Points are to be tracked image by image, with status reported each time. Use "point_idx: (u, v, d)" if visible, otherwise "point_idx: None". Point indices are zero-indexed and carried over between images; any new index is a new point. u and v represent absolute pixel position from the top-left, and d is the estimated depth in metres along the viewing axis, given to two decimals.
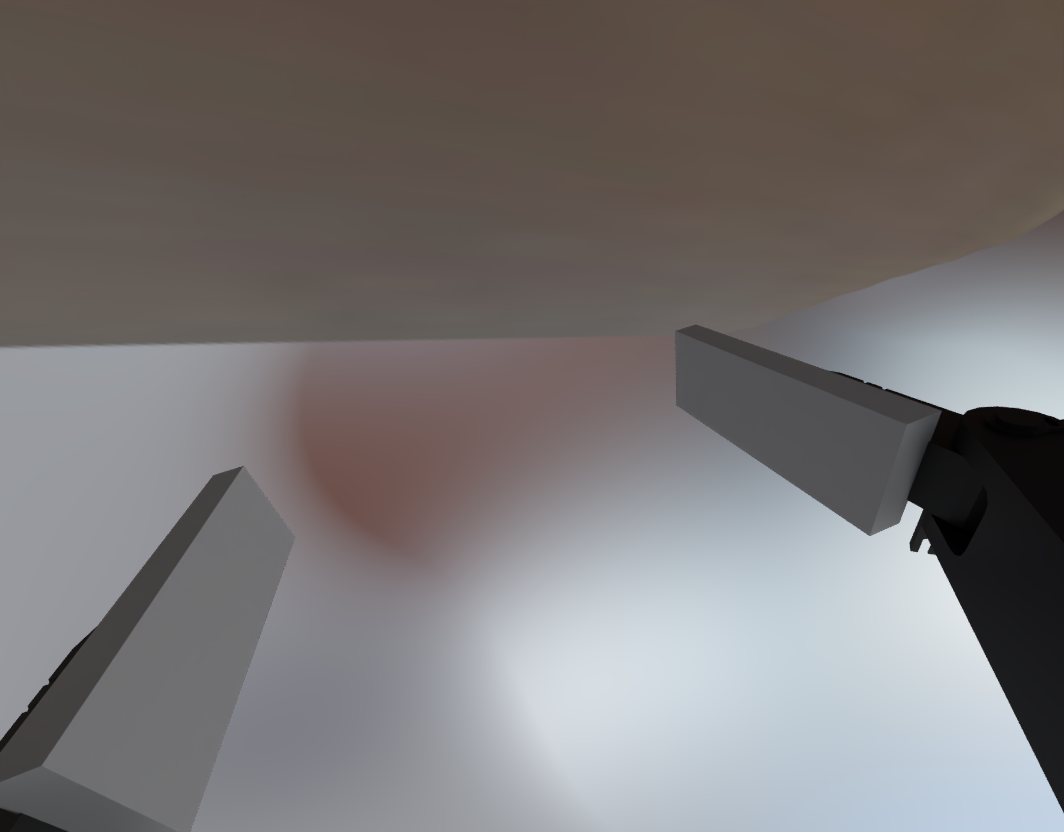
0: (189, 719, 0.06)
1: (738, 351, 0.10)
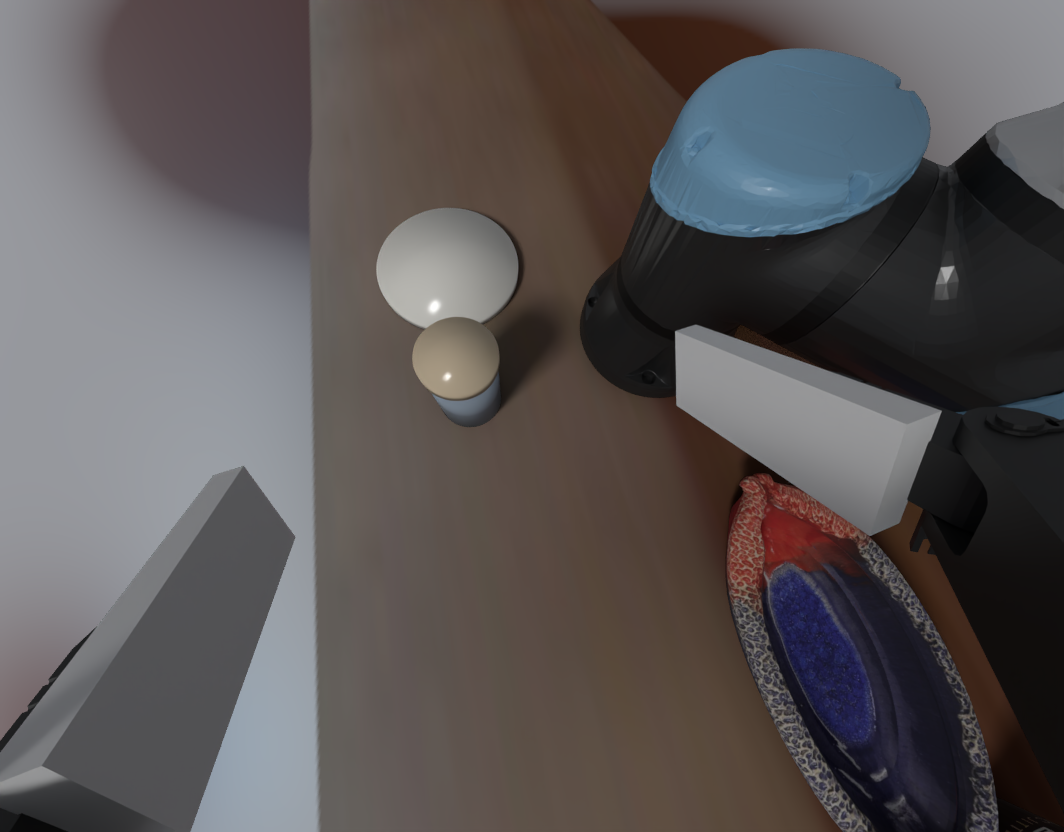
0: (189, 719, 0.06)
1: (738, 351, 0.10)
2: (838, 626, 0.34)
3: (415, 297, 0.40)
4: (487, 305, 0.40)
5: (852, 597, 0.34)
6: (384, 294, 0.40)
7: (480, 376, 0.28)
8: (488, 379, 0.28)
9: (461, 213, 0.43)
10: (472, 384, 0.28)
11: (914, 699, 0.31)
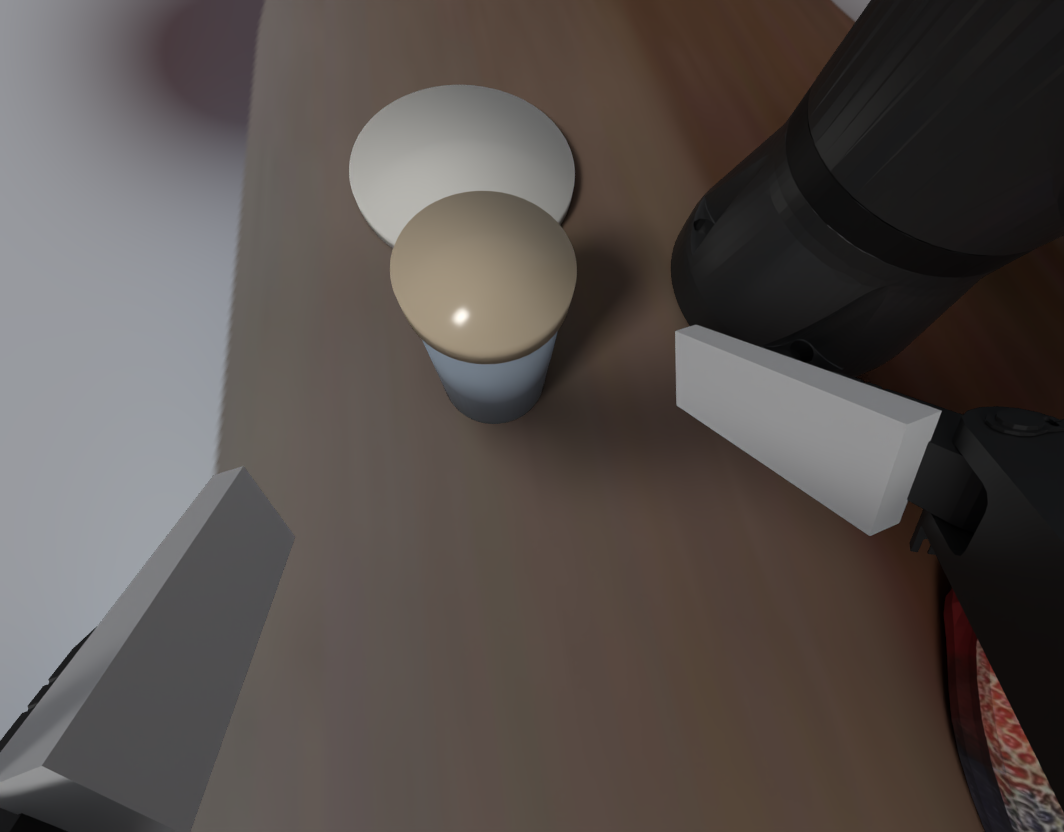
0: (189, 719, 0.06)
1: (738, 351, 0.10)
2: None
3: (410, 209, 0.25)
4: None
5: None
6: (359, 202, 0.24)
7: (537, 310, 0.13)
8: (554, 318, 0.13)
9: (487, 93, 0.28)
10: (519, 326, 0.13)
11: None
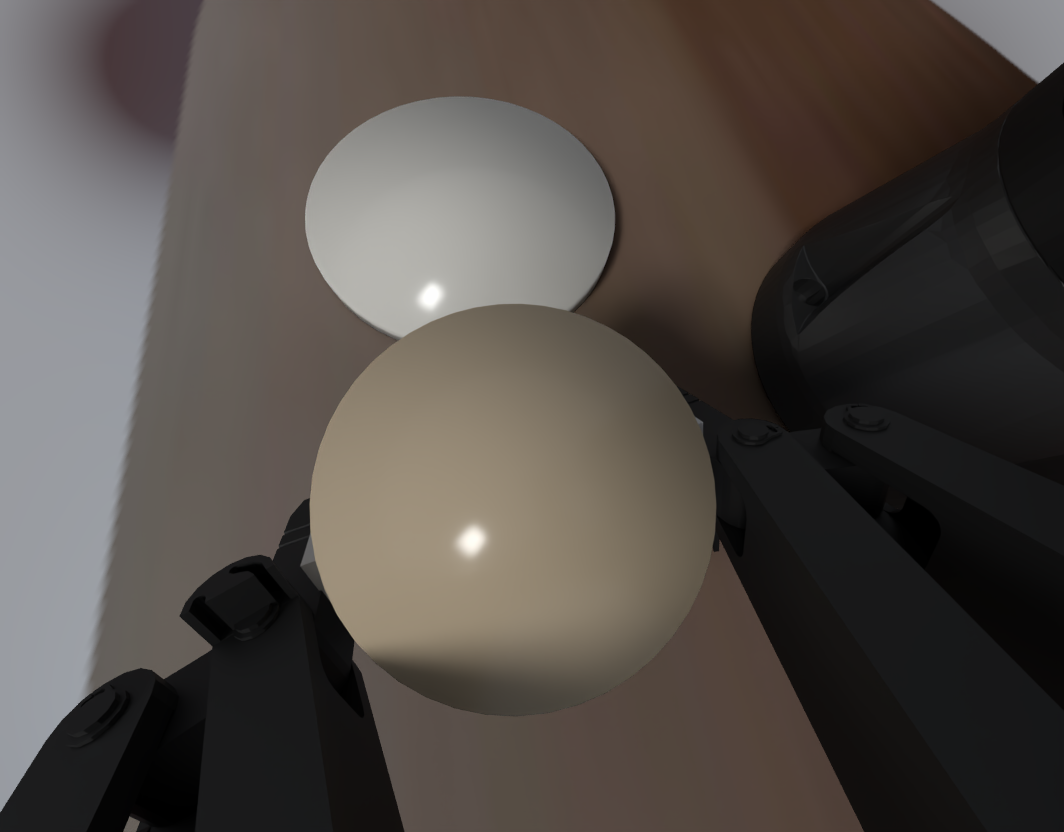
0: None
1: None
2: None
3: (390, 270, 0.18)
4: (551, 293, 0.18)
5: None
6: (318, 262, 0.17)
7: (641, 594, 0.06)
8: (681, 611, 0.06)
9: (493, 107, 0.21)
10: (605, 641, 0.05)
11: None
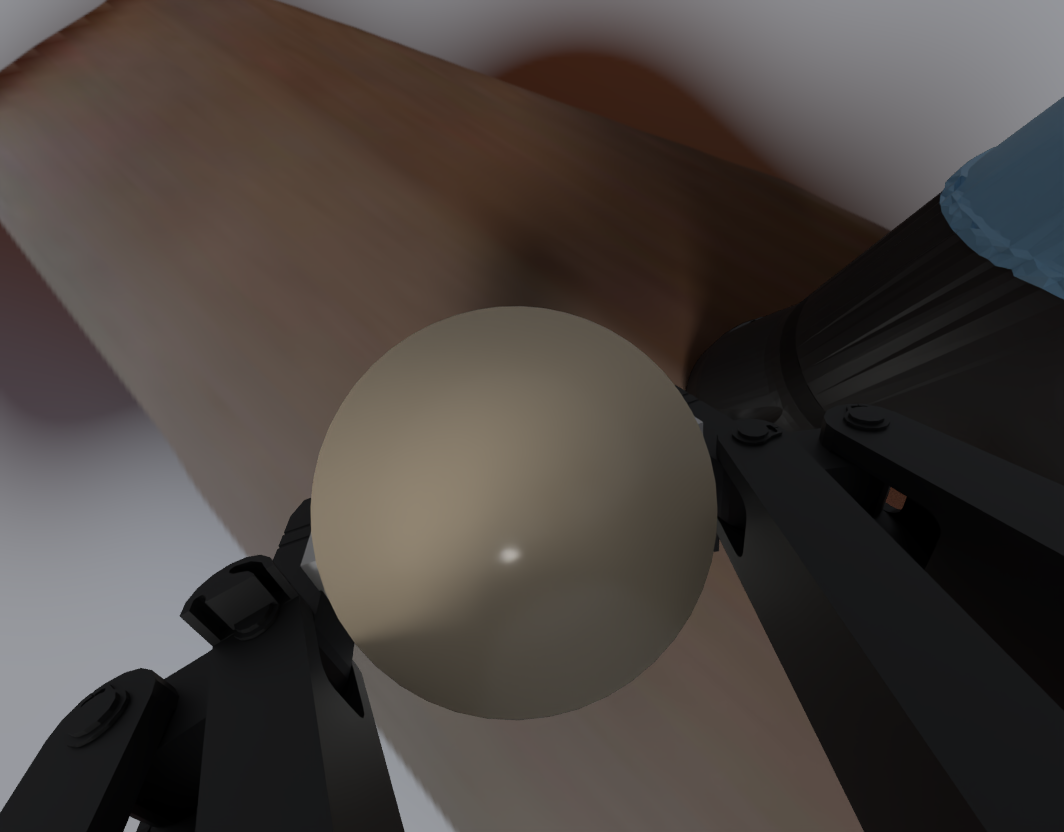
0: None
1: None
2: None
3: None
4: None
5: None
6: None
7: (642, 597, 0.06)
8: (683, 614, 0.06)
9: None
10: (607, 645, 0.05)
11: None
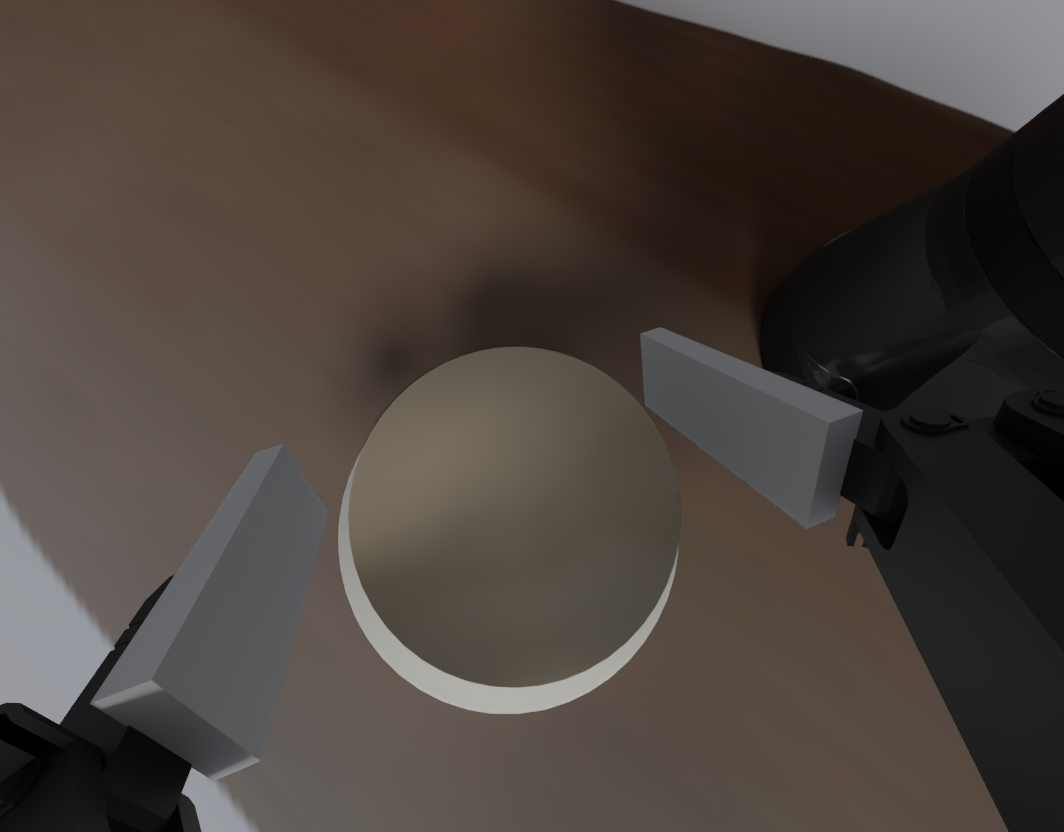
0: (255, 661, 0.07)
1: (694, 353, 0.10)
2: None
3: None
4: None
5: None
6: (444, 697, 0.15)
7: (617, 591, 0.07)
8: (650, 605, 0.07)
9: None
10: (588, 629, 0.07)
11: None
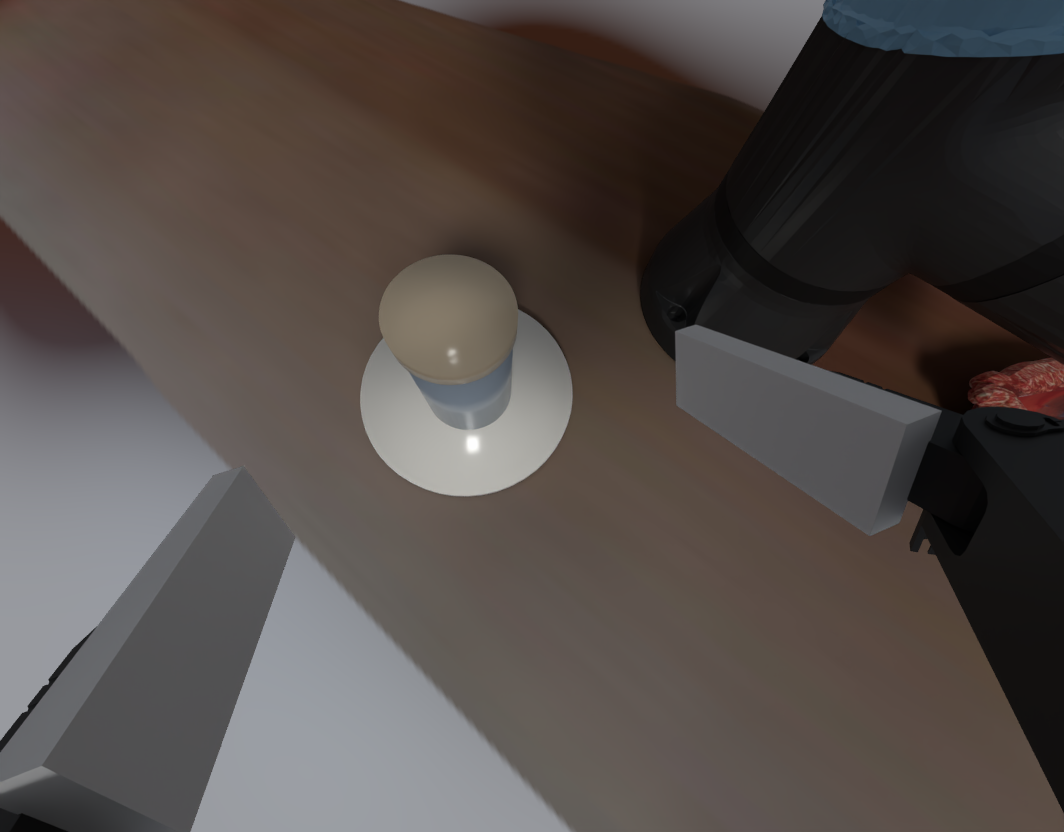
0: (189, 719, 0.06)
1: (738, 351, 0.10)
2: None
3: (466, 458, 0.26)
4: (557, 403, 0.27)
5: None
6: (424, 486, 0.25)
7: (488, 345, 0.17)
8: (501, 350, 0.17)
9: None
10: (475, 357, 0.17)
11: None
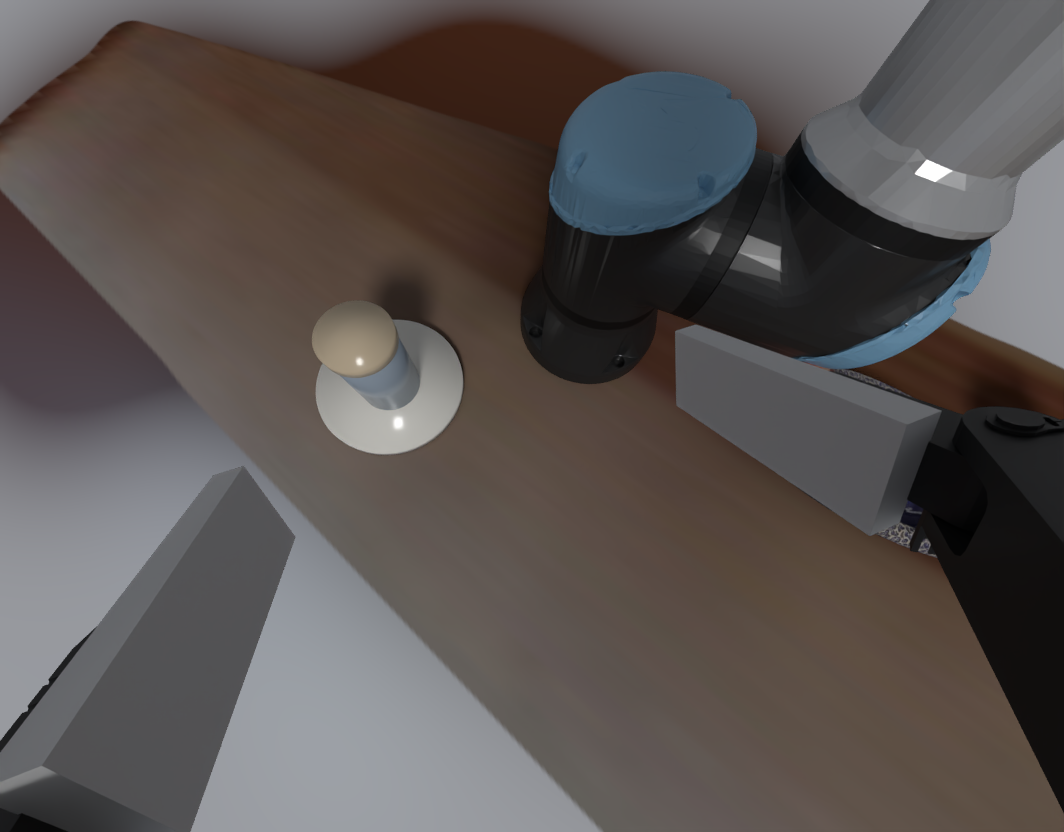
0: (189, 719, 0.06)
1: (738, 351, 0.10)
2: None
3: (386, 429, 0.39)
4: (451, 392, 0.40)
5: None
6: (356, 447, 0.38)
7: (374, 354, 0.30)
8: (382, 357, 0.30)
9: None
10: (366, 361, 0.30)
11: None
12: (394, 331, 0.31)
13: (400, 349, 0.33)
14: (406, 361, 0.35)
